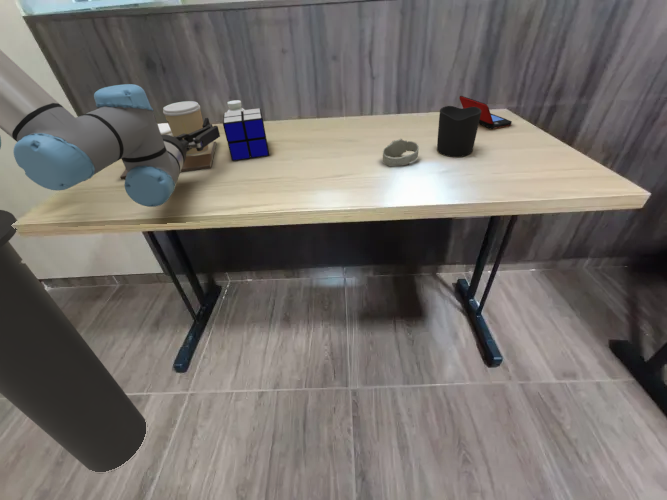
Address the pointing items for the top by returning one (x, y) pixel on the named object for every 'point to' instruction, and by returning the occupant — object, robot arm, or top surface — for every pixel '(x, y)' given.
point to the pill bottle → (234, 106)
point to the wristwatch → (400, 153)
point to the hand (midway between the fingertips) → (181, 126)
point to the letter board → (195, 160)
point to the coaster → (165, 129)
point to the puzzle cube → (245, 134)
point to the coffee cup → (184, 120)
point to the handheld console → (485, 114)
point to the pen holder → (457, 130)
